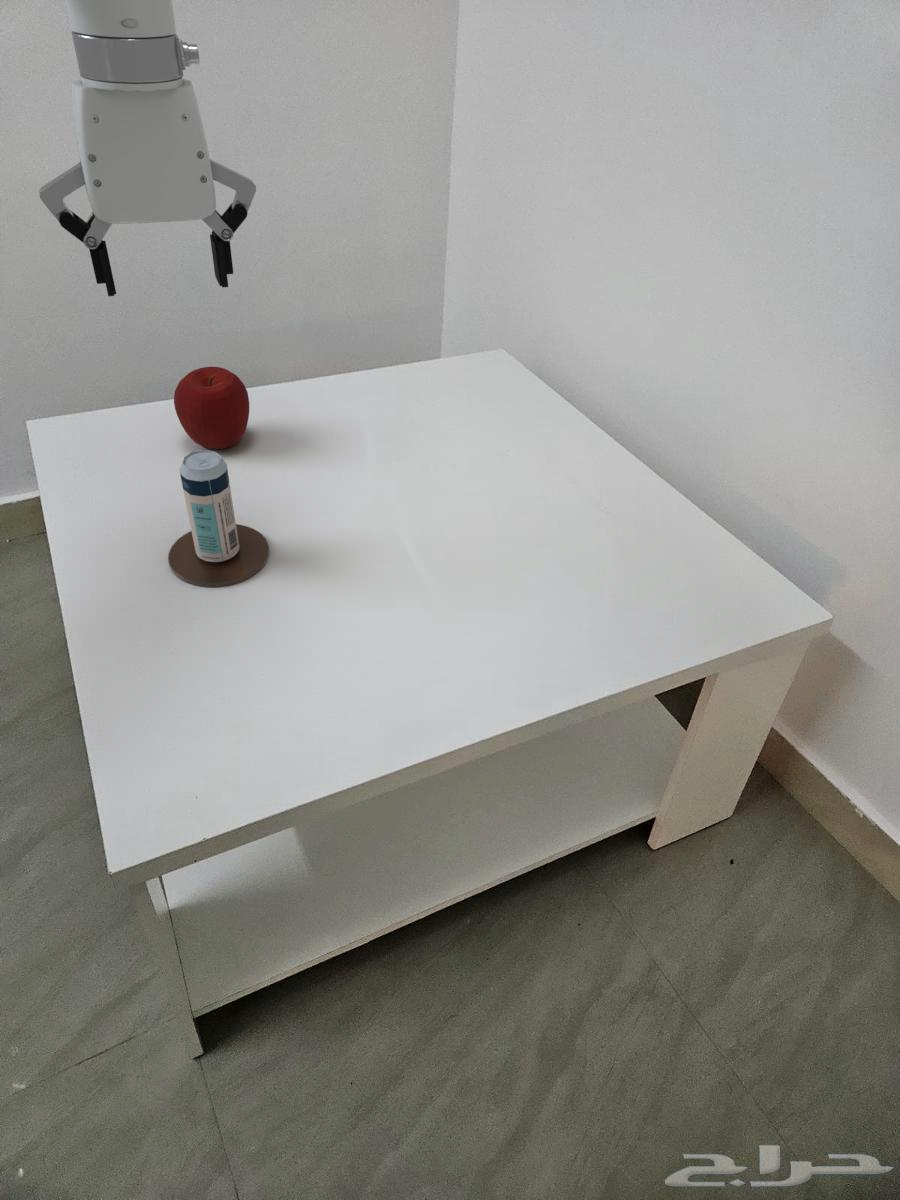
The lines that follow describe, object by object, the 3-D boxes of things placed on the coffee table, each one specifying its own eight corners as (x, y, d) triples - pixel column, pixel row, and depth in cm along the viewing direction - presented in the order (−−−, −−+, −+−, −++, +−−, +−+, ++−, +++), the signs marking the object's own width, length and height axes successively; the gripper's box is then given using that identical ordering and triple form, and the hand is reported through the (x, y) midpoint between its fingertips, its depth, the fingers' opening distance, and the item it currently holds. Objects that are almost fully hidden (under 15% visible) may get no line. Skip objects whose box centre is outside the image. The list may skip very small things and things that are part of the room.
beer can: (234, 535, 94) (219, 444, 86) (245, 559, 91) (231, 466, 83) (192, 545, 93) (173, 453, 85) (201, 569, 89) (183, 476, 81)
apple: (179, 462, 107) (165, 392, 100) (185, 426, 114) (173, 358, 107) (253, 459, 108) (244, 389, 101) (255, 423, 115) (246, 356, 108)
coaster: (176, 596, 87) (175, 591, 86) (163, 537, 94) (162, 532, 94) (278, 575, 90) (278, 571, 90) (258, 520, 98) (258, 516, 97)
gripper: (235, 55, 68) (255, 266, 79) (6, 53, 63) (63, 279, 74) (252, 69, 63) (272, 293, 74) (4, 69, 57) (66, 310, 68)
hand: (167, 286), depth 74 cm, fingers open, 9 cm apart
